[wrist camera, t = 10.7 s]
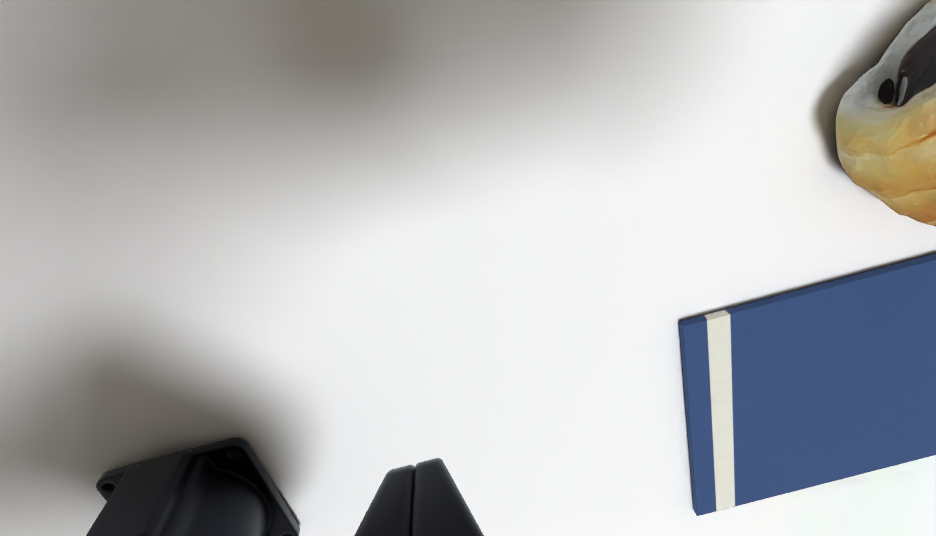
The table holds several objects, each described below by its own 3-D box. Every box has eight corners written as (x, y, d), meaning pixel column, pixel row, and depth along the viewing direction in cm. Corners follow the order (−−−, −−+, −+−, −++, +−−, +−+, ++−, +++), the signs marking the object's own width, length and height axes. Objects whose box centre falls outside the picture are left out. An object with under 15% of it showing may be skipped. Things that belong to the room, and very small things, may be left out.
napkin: (1115, 401, 27) (1125, 406, 26) (693, 509, 27) (697, 516, 27) (1207, 180, 21) (1222, 183, 21) (678, 321, 22) (682, 326, 21)
